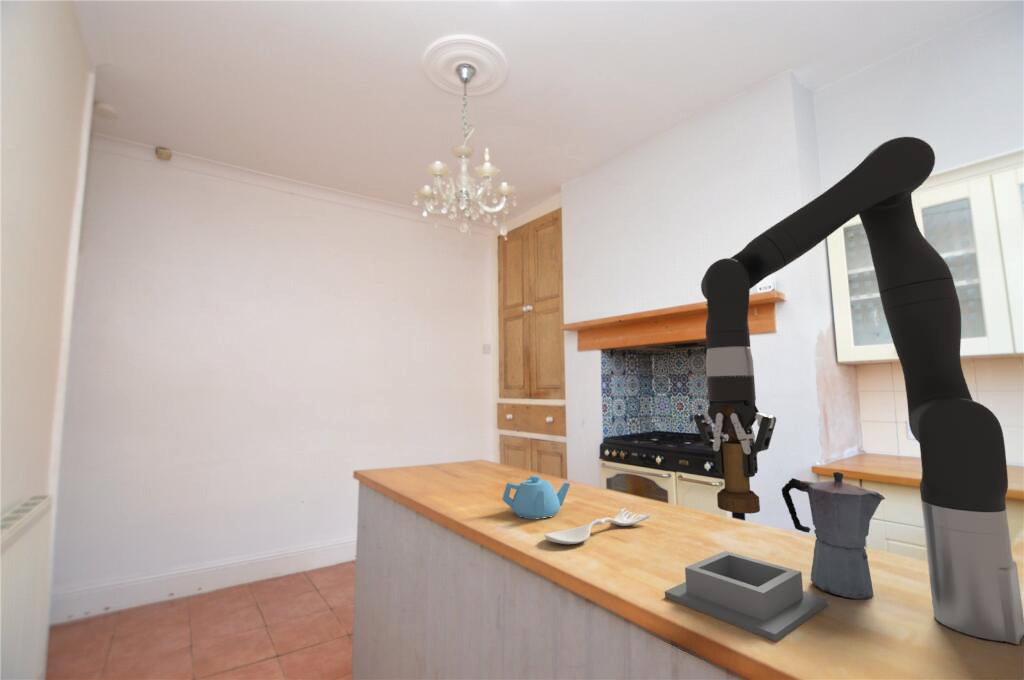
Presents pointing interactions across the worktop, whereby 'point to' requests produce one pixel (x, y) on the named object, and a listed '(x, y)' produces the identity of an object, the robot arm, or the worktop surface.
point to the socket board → (747, 594)
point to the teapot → (535, 498)
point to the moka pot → (838, 533)
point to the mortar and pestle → (735, 476)
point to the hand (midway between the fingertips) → (736, 474)
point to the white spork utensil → (584, 531)
